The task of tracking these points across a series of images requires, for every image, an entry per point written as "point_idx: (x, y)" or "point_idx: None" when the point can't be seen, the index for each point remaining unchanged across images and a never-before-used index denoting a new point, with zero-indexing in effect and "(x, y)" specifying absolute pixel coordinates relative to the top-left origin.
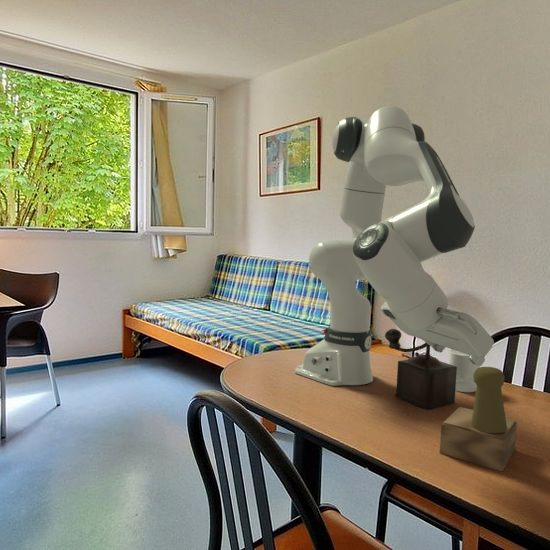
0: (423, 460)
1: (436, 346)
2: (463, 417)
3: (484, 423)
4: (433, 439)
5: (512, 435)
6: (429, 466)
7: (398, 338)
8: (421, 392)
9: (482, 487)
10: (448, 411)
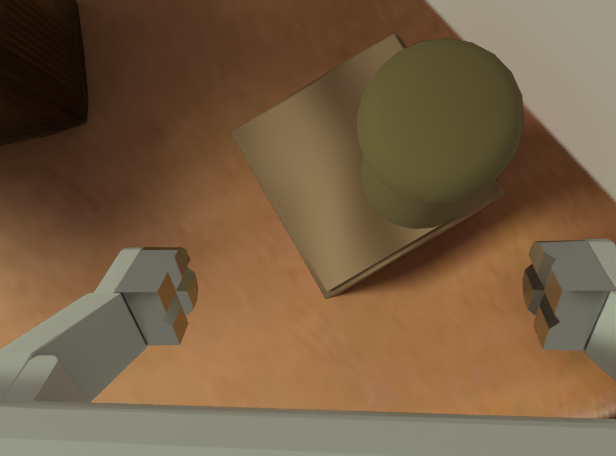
0: (356, 375)
1: (171, 336)
2: (317, 191)
3: (448, 216)
4: (259, 251)
5: None
6: (390, 384)
7: None
8: (29, 110)
9: (532, 329)
10: (120, 66)
